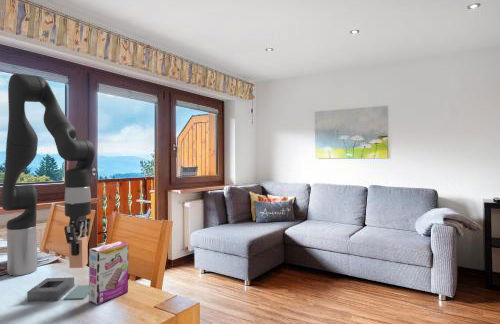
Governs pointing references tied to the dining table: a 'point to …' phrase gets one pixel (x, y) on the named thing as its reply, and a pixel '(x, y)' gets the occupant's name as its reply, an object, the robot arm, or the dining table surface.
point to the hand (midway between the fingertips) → (78, 252)
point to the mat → (78, 292)
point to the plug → (82, 258)
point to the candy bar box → (108, 272)
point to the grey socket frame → (50, 289)
